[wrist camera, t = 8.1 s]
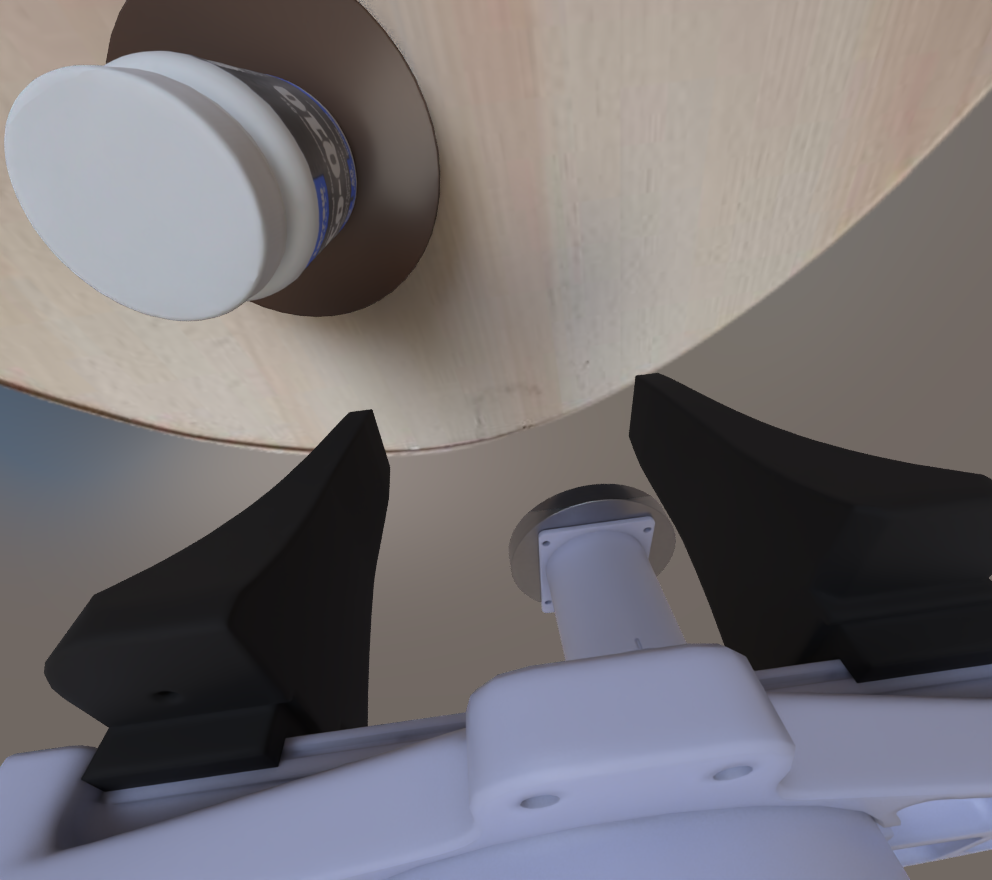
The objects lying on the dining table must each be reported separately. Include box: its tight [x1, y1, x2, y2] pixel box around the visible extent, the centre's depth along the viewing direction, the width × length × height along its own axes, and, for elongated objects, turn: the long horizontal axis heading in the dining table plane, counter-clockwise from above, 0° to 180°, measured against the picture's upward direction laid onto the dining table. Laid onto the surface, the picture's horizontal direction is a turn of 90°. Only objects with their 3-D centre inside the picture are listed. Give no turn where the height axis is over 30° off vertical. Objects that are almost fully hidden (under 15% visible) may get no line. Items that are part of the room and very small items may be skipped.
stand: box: [106, 0, 440, 317], centre depth 15 cm, size 10×10×2 cm
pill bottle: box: [4, 51, 357, 321], centre depth 11 cm, size 5×5×8 cm
